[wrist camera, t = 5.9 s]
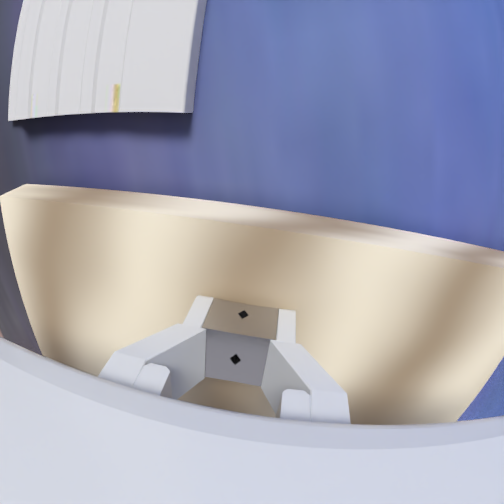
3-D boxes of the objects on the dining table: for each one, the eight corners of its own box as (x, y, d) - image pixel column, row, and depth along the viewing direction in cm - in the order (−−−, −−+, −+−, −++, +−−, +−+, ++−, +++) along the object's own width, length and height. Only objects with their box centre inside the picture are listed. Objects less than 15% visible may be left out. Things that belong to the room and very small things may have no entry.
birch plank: (524, 256, 9) (545, 276, 8) (447, 398, 13) (455, 422, 11) (25, 183, 11) (-1, 196, 9) (58, 335, 14) (42, 355, 13)
